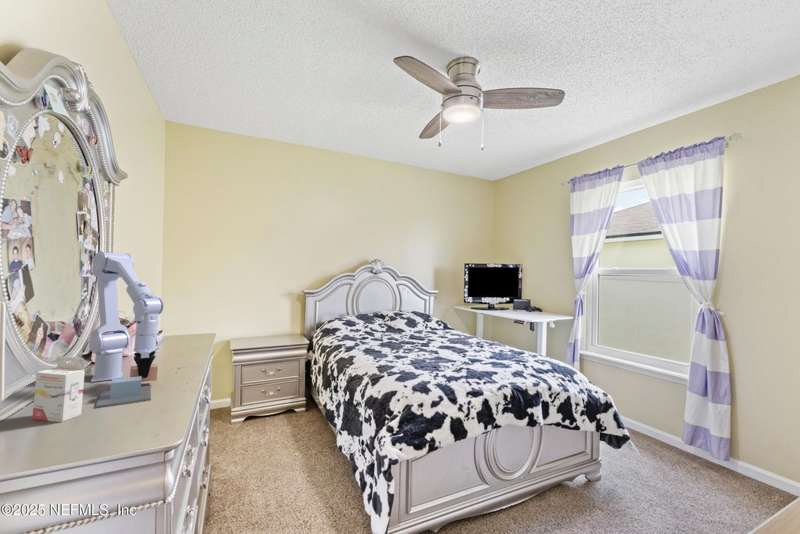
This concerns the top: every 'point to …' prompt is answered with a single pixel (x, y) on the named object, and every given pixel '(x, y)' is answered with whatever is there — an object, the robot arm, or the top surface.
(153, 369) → the upper brick
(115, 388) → the lower brick
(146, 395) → the baseplate
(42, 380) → the ink cartridge box
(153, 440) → the top surface
